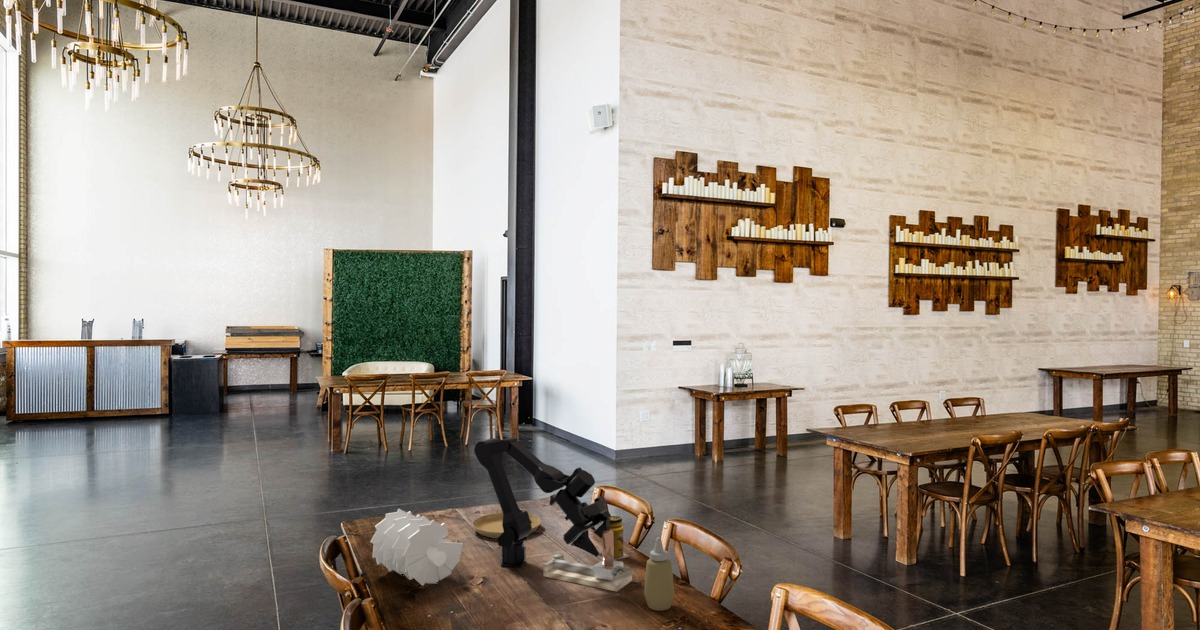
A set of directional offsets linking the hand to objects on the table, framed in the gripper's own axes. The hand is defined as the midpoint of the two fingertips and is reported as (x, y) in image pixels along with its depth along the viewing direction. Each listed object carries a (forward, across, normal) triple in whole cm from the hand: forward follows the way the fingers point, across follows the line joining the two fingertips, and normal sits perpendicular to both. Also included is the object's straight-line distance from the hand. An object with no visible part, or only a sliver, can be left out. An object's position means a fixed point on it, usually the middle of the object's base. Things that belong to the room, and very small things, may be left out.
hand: (606, 550), depth 205 cm
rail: (+2, 0, +11) cm, 11 cm away
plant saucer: (-32, +26, +45) cm, 61 cm away
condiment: (0, +20, +13) cm, 24 cm away
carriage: (+6, 0, +5) cm, 7 cm away
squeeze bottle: (+21, -8, -8) cm, 24 cm away
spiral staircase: (-31, -22, +43) cm, 57 cm away
